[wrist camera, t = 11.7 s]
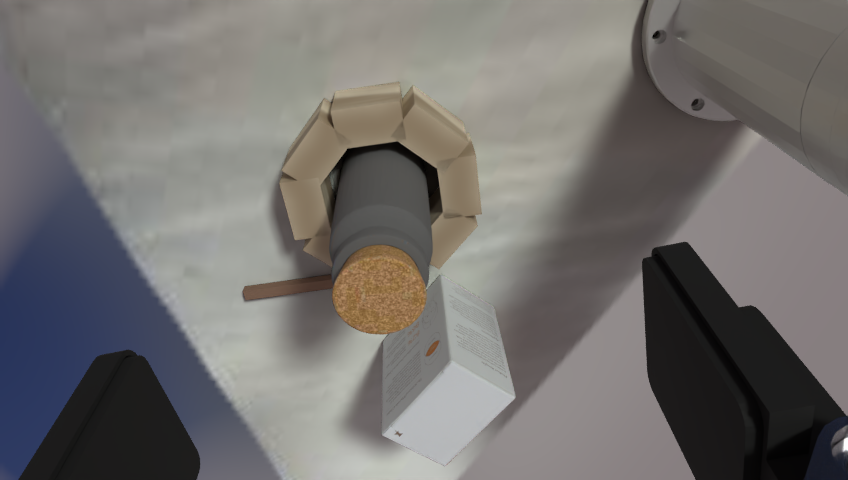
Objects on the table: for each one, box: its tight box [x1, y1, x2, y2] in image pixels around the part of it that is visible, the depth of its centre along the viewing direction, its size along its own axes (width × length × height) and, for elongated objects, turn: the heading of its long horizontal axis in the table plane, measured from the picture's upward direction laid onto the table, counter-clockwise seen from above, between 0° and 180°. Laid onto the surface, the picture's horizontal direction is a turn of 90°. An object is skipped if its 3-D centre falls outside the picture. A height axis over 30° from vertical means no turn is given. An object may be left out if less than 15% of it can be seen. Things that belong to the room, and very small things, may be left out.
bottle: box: [329, 141, 433, 334], centre depth 38 cm, size 6×6×15 cm
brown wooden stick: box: [243, 274, 333, 300], centre depth 49 cm, size 10×1×1 cm, turn 98°
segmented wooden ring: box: [279, 82, 482, 269], centre depth 43 cm, size 12×12×4 cm
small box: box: [381, 275, 516, 466], centre depth 47 cm, size 8×6×10 cm
